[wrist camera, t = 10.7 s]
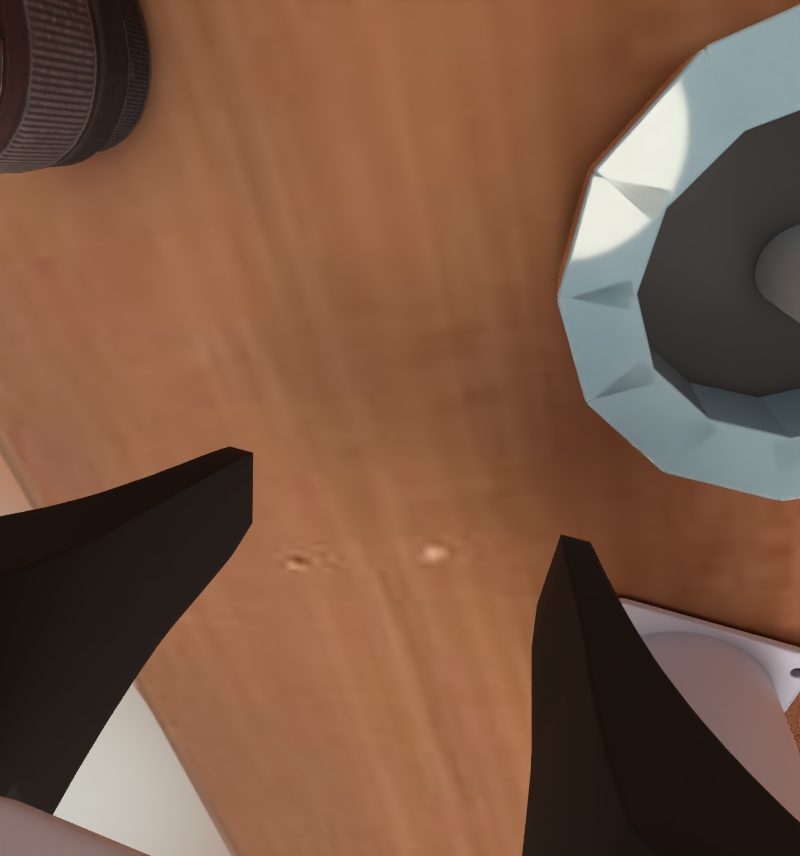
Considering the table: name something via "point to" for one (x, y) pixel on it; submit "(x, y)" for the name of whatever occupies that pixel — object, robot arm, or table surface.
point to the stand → (732, 268)
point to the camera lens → (69, 79)
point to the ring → (630, 252)
